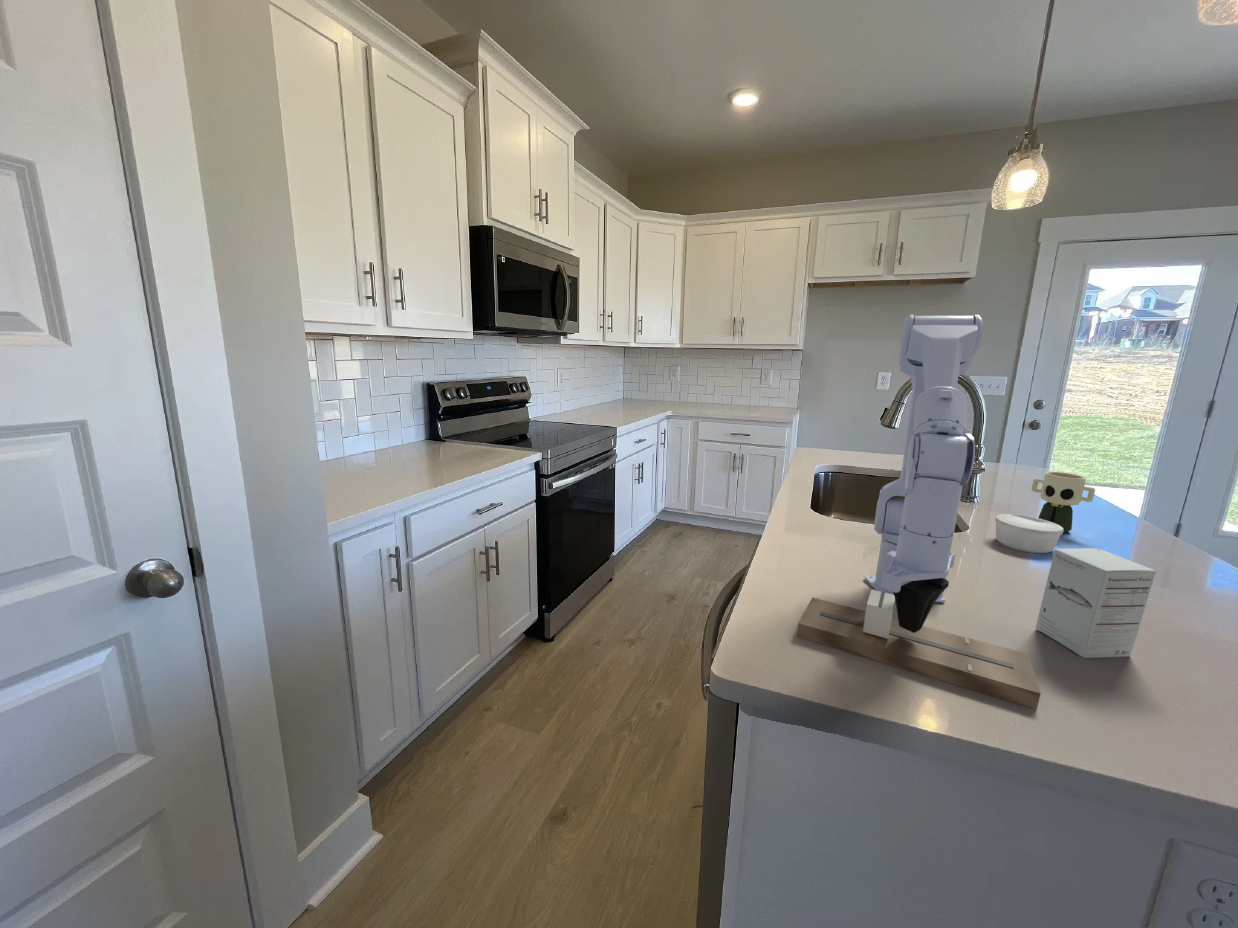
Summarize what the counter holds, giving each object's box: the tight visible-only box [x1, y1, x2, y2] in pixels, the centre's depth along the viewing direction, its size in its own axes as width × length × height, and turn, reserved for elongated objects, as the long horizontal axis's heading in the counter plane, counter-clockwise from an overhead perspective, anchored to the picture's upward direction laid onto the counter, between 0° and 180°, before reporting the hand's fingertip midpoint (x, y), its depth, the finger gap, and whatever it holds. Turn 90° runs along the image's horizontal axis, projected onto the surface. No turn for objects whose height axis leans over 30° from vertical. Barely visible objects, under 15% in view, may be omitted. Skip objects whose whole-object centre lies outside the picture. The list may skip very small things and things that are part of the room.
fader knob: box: [863, 589, 896, 639], centre depth 68 cm, size 3×5×4 cm, turn 148°
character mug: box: [1031, 471, 1096, 533], centre depth 116 cm, size 11×7×13 cm, turn 37°
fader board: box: [796, 597, 1042, 710], centre depth 67 cm, size 26×9×2 cm, turn 58°
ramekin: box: [994, 513, 1064, 554], centre depth 106 cm, size 11×11×5 cm
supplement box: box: [1035, 547, 1157, 659], centre depth 69 cm, size 7×7×13 cm
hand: (909, 627), depth 66 cm, fingers closed
